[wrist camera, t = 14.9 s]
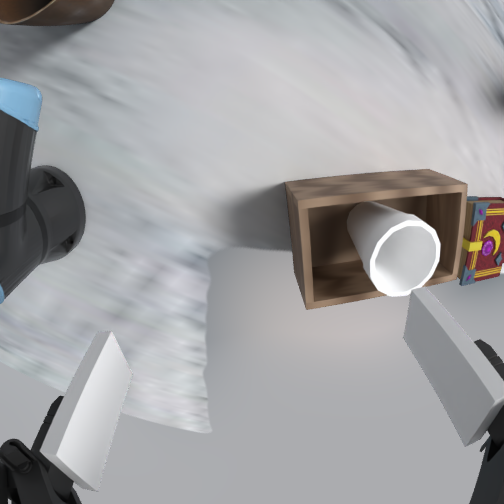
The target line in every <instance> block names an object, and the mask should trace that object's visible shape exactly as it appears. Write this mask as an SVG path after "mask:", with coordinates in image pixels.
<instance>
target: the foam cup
mask: <svg viewBox="0 0 504 504" xmlns="http://www.w3.org/2000/svg"><path fill="white" fill-rule="evenodd" d="M347 230H348V232H349V235H350V237H351V239H352V241H353V243H354V245H355V247H356V249H357V251H358V254H359V256H360V258H361V260H362V262H363V268H364V270H365V272H366V273H367V275H368V277H369V278H370V280H371V281H372V283H373V284H374V286H375V287H376V288H377V290H378V291H380V292H382V293H384V294H386V295H389V296H390V297H391V296H406V295H408V294H410V293H411V290H412V289H416V288H421V287H422V286H423V285H424V284H425V283H426V282H427V281H428V280H429V279H430V278H431V276H432V275H433V273H434V271H435V269H436V266H437V264H438V262H439V258H440V241H439V239H438V236H437V234H436V231H435V230H434V229H433V228H432V227H430V226H429V225H428V224H426V223H425V222H424V221H422V220H421V219H419V218H418V217H416V216H415V215H413V214H406V213H403V212H401V211H398V210H395V209H393V208H390V207H387V206H384V205H382V204H379V203H376V202H369V201H364V202H362V203H360V204H357V205H356V206H355V207H354V208H353V209H352V210H351V211H350V213H349V216H348V219H347Z"/></svg>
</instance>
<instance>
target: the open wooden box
mask: <svg viewBox="0 0 504 504" xmlns="http://www.w3.org/2000/svg"><path fill="white" fill-rule="evenodd" d="M467 186H468V184H466V183H463V182H461V181H459V180H456V179H453V178H451V177H448V176H446V175H443V174H441V173H438V172H435V171H432V170H430V169H423V170H405V171H390V172H377V173H365V174H353V175H343V176H333V177H323V178H314V179H305V180H297V181H289V182H285V187H286V195H287V204H288V214H289V223H290V233H291V243H292V253H293V264H294V273H295V276H296V279H297V282H298V285H299V289H300V292H301V295H302V298H303V301H304V304H305V307H306V309H307V310H308V309H314V308H320V307H326V306H332V305H337V304H343V303H348V302H354V301H359V300H365V299H370V298H375V297H380V296H385V295H386V294H384V293H382V292H380V291H378V290H377V288H376V287H375V286H374V284H373V283H372V281H371V280H370V278H369V277H368V275H367V273H366V272H365V270H364V268H363V262H362V260H361V258H360V256H359V254H358V251H357V249H356V247H355V245H354V243H353V241H352V239H351V237H350V235H349V232H348V230H347V219H348V216H349V213H350V211H351V210H352V209H353V208H354V207H355V206H356V205H357V204H360V203H362V202H364V201H369V202H376V203H379V204H382V205H384V206H387V207H390V208H393V209H395V210H398V211H401V212H403V213H406V214H413V215H415V216H416V217H418V218H419V219H421V220H422V221H424V222H425V223H426V224H428V225H429V226H430V227H432V228H433V229H434V230H435V231H436V234H437V236H438V239H439V241H440V258H439V262H438V264H437V266H436V269H435V271H434V273H433V275H432V276H431V278H430V279H429V280H428V281H427V282H426V283H425V284H424V285H423V286H422V287H425V286H426V287H427V286H431V285H435V284H440V283H444V282H448V281H452V280H456V279H457V274H458V269H459V263H460V256H461V250H462V242H463V234H464V225H465V215H466V203H467Z"/></svg>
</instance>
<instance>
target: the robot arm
mask: <svg viewBox="0 0 504 504" xmlns="http://www.w3.org/2000/svg"><path fill="white" fill-rule="evenodd" d="M41 105H42V95H41V92H40V91H39V89H38V88H36V87H35V86H32V85H29V84H26V83H22V82H18V81H14V80H9V79H5V78H0V304H1V303H2V302H3V301H4V299H5V298H6V297H7V296H8V295H9V294H10V293H11V292H12V291H13V290H14V289H15V288H16V287H17V286H18V285H19V284H20V283H21V282H22V281H23V280H24V279H25V278H26V277H27V276H28V275H29V274H30V273H31V272H32V271H33V270H34V269H35V268H36V267H37V266H38V265H39V264H43V263H47V262H51V261H54V260H58V259H61V258H63V257H64V256H66V255H67V254H68V253H70V252H71V251H72V250H73V249H74V248H75V247H76V246H77V245H78V243H79V242H80V240H81V238H82V235H83V232H84V228H85V207H84V203H83V199H82V196H81V194H80V192H79V190H78V188H77V186H76V185H75V183H74V182H73V180H72V179H71V178H70V177H69V176H68V175H67V174H66V173H64V172H63V171H61V170H60V169H58V168H55V167H52V166H38V167H35V168H32V169H31V162H32V156H33V150H34V144H35V139H36V134H37V132H38V130H39V127H38V121H39V115H40V110H41ZM403 338H404V340H405V342H406V343H407V345H408V346H409V348H410V350H411V351H412V353H413V354H414V356H415V358H416V359H417V361H418V363H419V364H420V366H421V368H422V369H423V371H424V373H425V375H426V376H427V378H428V379H429V381H430V383H431V385H432V387H433V388H434V390H435V392H436V393H437V395H438V397H439V399H440V401H441V403H442V404H443V406H444V408H445V410H446V411H447V413H448V415H449V417H450V419H451V421H452V423H453V424H454V427H455V429H456V430H457V432H458V434H459V436H460V438H461V440H462V442H463V444H464V446H465V447H466V446H468V445H470V444H472V443H474V442H476V441H478V440H480V439H481V438H482V436H483V435H484V433H485V432H486V431H488V432H489V434H490V436H489V438H488V439H487V441H486V442H485V443H484V444H483V445H482V447H481V449H480V452H482V451H483V450H484V448H485V447H486V449H485V453H484V457H483V461H482V465H481V469H480V472H479V476H478V479H477V483H476V486H475V489H474V492H473V495H472V498H471V500H470V503H469V504H504V363H503V361H502V360H501V359H500V357H499V356H497V354H496V352H495V351H494V350H493V349H492V347H491V346H490V345H488V344H487V343H485V342H483V341H482V340H477V341H475V342H473V341H472V339H470V337H469V336H468V334H467V333H466V332H465V331H464V330H463V329H462V327H461V326H460V325H459V324H458V323H457V321H456V320H455V319H454V318H453V317H452V316H451V314H450V313H449V312H448V311H447V310H446V309H445V308H444V306H443V305H442V304H441V303H440V302H439V301H438V300H437V298H436V297H435V296H434V295H433V294H432V293H431V292H430V291H429V290H428V289H427V288H426V286H425V287H421V288H416V289H412V290H411V295H410V302H409V308H408V315H407V321H406V326H405V332H404V337H403ZM132 377H133V373H132V371H131V369H130V367H129V365H128V363H127V361H126V359H125V357H124V355H123V353H122V351H121V349H120V347H119V345H118V343H117V341H116V339H115V337H114V334H113V332H112V331H100V332H97V334H96V336H95V338H94V339H93V341H92V343H91V345H90V347H89V349H88V351H87V352H86V354H85V356H84V358H83V360H82V362H81V364H80V366H79V368H78V370H77V371H76V373H75V375H74V377H73V379H72V381H71V383H70V385H69V387H68V389H67V391H66V394H65V396H59V397H58V398H57V399H56V400H55V401H54V402H53V403H52V405H51V407H50V409H49V411H48V413H47V416H46V417H45V419H44V421H43V422H44V423H43V424H42V426H41V428H40V430H39V432H38V435H37V437H36V439H35V441H34V443H33V446H32V448H31V450H29V449H28V448H27V447H26V446H25V445H24V444H23V443H22V442H21V441H19V440H18V439H10V440H7V441H6V442H5V443H3V445H2V446H1V448H0V504H8V499H10V500H11V501H12V504H82V503H81V501H80V499H79V497H78V495H77V493H76V491H75V490H74V488H73V487H72V486H73V482H75V483H76V484H77V485H79V486H80V487H81V488H83V489H87V490H91V491H96V492H98V490H99V486H100V483H101V479H102V475H103V471H104V467H105V464H106V460H107V456H108V453H109V450H110V446H111V442H112V439H113V436H114V433H115V429H116V426H117V423H118V420H119V416H120V413H121V410H122V407H123V404H124V401H125V398H126V395H127V392H128V389H129V386H130V383H131V380H132Z"/></svg>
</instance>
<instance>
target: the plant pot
mask: <svg viewBox="0 0 504 504" xmlns="http://www.w3.org/2000/svg"><path fill="white" fill-rule="evenodd" d="M113 2H114V0H0V23H2V24H10V25H27V26H60V25H72V24H80V23H87V22H91V21H94V20H96V19H98V18H100V17H101V16H103V15H104V14H105V13H106V12H107V11H108V10H109V9H110V7H111V6H112V4H113Z"/></svg>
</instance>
